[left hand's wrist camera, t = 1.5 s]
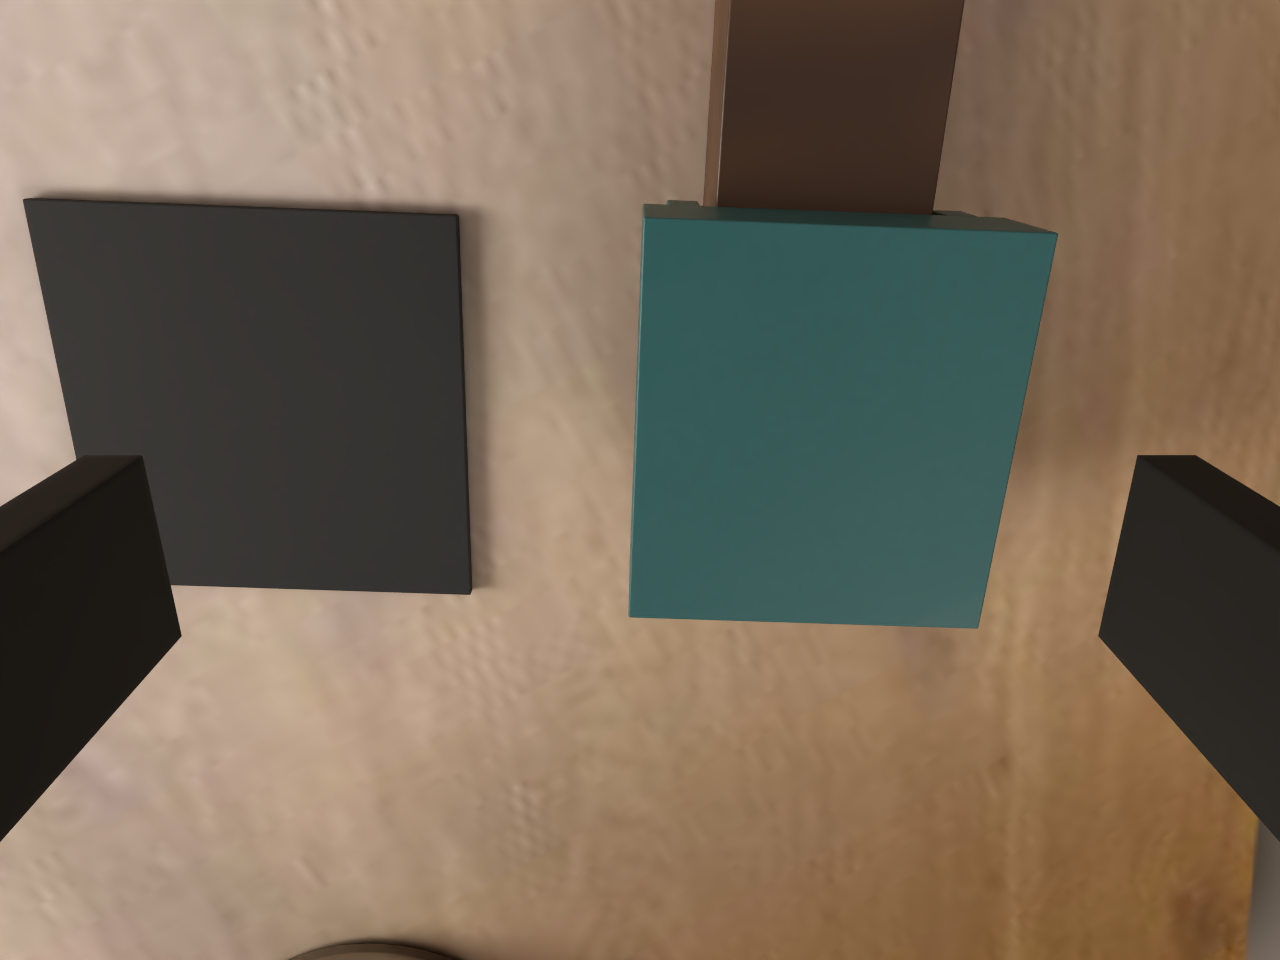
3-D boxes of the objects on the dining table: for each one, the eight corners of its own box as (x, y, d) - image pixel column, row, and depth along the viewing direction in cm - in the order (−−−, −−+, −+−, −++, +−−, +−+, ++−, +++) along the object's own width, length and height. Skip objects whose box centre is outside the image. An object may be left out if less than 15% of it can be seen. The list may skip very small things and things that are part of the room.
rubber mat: (472, 590, 35) (470, 595, 35) (107, 578, 35) (101, 583, 35) (459, 214, 30) (456, 215, 30) (29, 198, 30) (22, 198, 29)
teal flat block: (927, 551, 31) (978, 629, 26) (630, 541, 30) (628, 618, 26) (985, 212, 27) (1059, 232, 22) (642, 199, 26) (643, 217, 22)
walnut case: (846, 507, 34) (879, 569, 29) (685, 502, 34) (692, 563, 29) (978, -490, 23) (1062, -640, 19) (745, -502, 23) (772, -655, 19)
